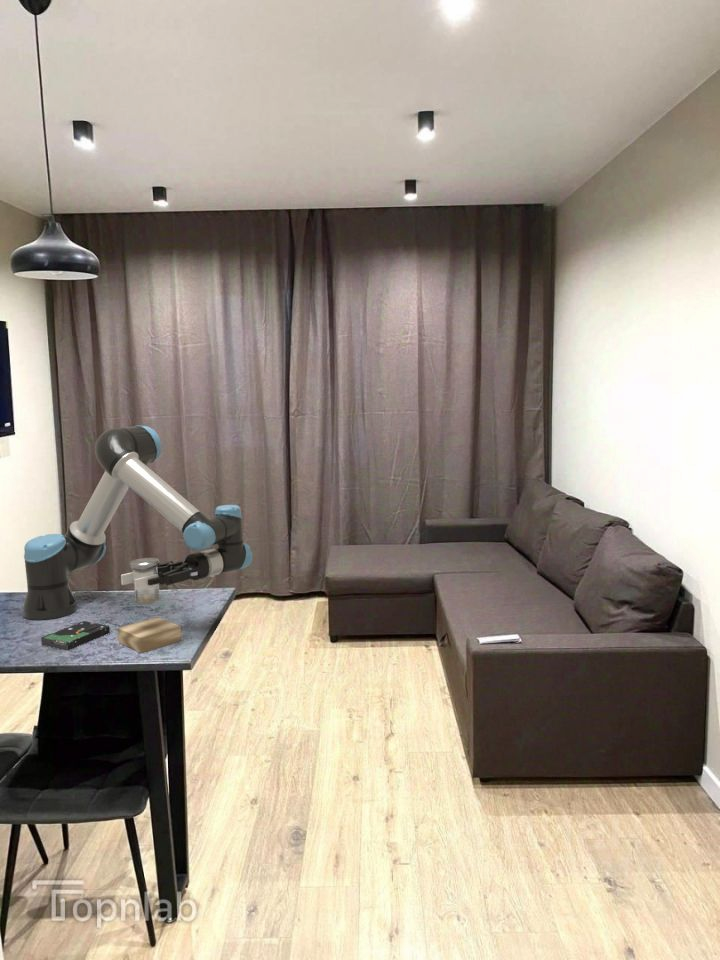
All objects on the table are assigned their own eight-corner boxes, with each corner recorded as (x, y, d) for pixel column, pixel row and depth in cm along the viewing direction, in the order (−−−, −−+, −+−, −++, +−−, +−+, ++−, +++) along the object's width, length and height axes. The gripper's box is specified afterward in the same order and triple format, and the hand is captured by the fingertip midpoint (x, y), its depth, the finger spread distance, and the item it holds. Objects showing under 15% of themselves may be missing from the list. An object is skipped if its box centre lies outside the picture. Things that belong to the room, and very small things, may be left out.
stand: (118, 642, 194) (117, 627, 193) (158, 630, 202) (157, 616, 202) (141, 653, 185) (140, 638, 185) (181, 640, 194) (180, 626, 193)
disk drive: (84, 630, 206) (40, 646, 193) (83, 620, 206) (40, 636, 193) (110, 635, 201) (68, 652, 188) (110, 625, 201) (67, 642, 188)
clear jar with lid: (127, 600, 192) (123, 562, 190) (152, 593, 198) (149, 556, 196) (142, 606, 187) (138, 566, 185) (167, 598, 192) (164, 560, 191)
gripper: (223, 583, 198) (148, 603, 182) (185, 572, 211) (111, 589, 195) (222, 557, 197) (146, 574, 181) (183, 547, 210) (109, 562, 194)
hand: (128, 582), depth 188 cm, fingers closed on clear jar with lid, 6 cm apart
